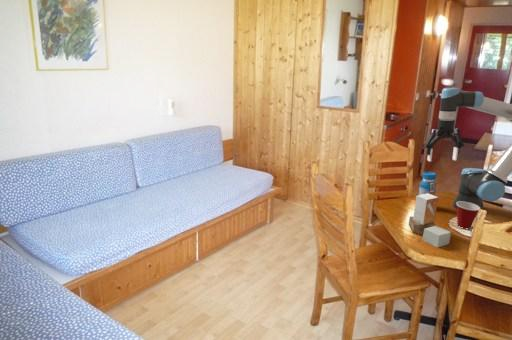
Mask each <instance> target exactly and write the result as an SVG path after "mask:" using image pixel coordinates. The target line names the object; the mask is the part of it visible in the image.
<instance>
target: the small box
mask: <svg viewBox="0 0 512 340" xmlns="http://www.w3.org/2000/svg"><path fill="white" fill-rule="evenodd" d="M438 202H439V197H438V196H436V195H431V194H429V193H427V194H422V195H419V194H418V195H416V196H415V205H414V211H413V216H412V217H413V220H414V221H416V222H418V223H420V224H423V225H424V224H428V223H431V222H434V223H435V220H436V214H437V213H436V212H437V208H438Z"/></svg>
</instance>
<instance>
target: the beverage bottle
mask: <svg viewBox="0 0 512 340" xmlns="http://www.w3.org/2000/svg"><path fill="white" fill-rule="evenodd" d="M436 177H437V174H436V172H432V171H424V172H422V180H421V181H420V183H419V185H420V186H419V188H418V190H419V191H418V195H422V194H427V193H429V194H431V195H434V196H436V195H435V193H436V187H437V183H436V182H435V181H436V179H437V178H436Z"/></svg>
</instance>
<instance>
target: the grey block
mask: <svg viewBox="0 0 512 340" xmlns="http://www.w3.org/2000/svg"><path fill="white" fill-rule="evenodd" d="M451 235H452V232H451V231H449V230H447V229H445V228H442V227H440V226H438V225H436V226H433V227H429V228H425V229H424V233H423V234H422V241H423V242H425V243H427V244H429V245H431V246H434V247H435V248H440V247H443V246H447V245H450V242H451V241H450V240H451Z"/></svg>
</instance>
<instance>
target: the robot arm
mask: <svg viewBox="0 0 512 340" xmlns="http://www.w3.org/2000/svg"><path fill="white" fill-rule="evenodd" d="M439 103H440V105H439V113H438V121H437V129H434V128H432V129H430V134H429V135H428V137H427V138H426V141H425V142H424V144H423V148H426V155H427V158H426V160H427V161H428V162H429V163H430V162H432V158H433V147H434V146H435V145H436V144H437V143H438V142H439V140H441V139H449V140H450V141H451V142H452V144H453V145H454V146H453V150H452V151H453V152H452V161H454V162H456V161H457V160H458V155H459V153H460V149H462V147H465V144H464V140H463V138H462V135H461V130H460V128H457V127H456V128H455V125H456V120H455V119H456V118H457V117H456V115H457V110H458V109H457V108H468V109H471V110H475V111H478V112H482V113H486V114H489V115H493V116H496V117H500V118H503V119H505V121H508V122H511V123H512V103H508V102H505V101H501V100H498V99H493V98H490V97H486V96H484V93H483V92H482V91H466V90H461V89H460V88H458V87H444V88H442V89H441V95H440V102H439ZM455 137H456V138H455ZM511 173H512V142H511V143H510V145H509V146H508V147H507V148H506V150H504V152H503V153H502V155H500V157H499V158H498V159H497V160H496V162H495V163H494V164H493V165H492V166H491V168H490V169H483V168H476V167H475V168H474V167H466V168H463V169H462V171H461V174H460V181H459V188H458V193H457V194H456V197H455V199H454V200H453V203H452V207H454V208H455V209H457V204H456V202H459V201H465V202H470V203H473V204H475V205H478V206H479V207H480V209H483V210H484V203H483V201H486V202H495V201H499V200H500V199H502V198H503V196H504V195H505V193H506V186H507V184H508V177H509V176H510V175H511Z"/></svg>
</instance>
